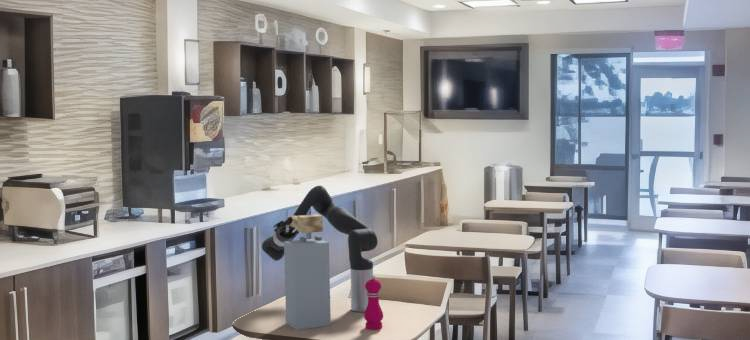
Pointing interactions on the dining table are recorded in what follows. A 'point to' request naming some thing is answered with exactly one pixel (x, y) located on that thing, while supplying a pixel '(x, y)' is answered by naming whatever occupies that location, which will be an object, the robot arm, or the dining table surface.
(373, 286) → the pepper mill
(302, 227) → the t key
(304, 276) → the stand
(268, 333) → the dining table surface
